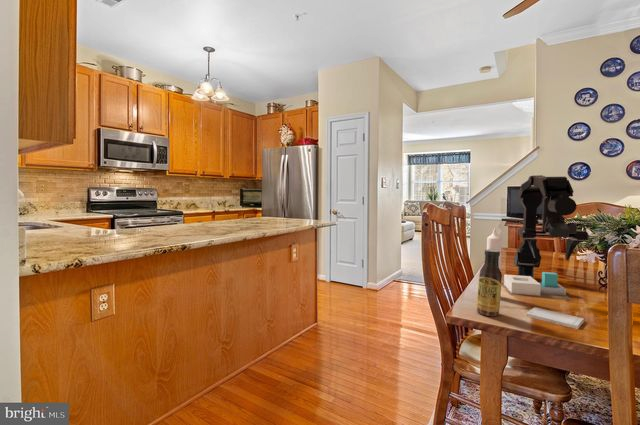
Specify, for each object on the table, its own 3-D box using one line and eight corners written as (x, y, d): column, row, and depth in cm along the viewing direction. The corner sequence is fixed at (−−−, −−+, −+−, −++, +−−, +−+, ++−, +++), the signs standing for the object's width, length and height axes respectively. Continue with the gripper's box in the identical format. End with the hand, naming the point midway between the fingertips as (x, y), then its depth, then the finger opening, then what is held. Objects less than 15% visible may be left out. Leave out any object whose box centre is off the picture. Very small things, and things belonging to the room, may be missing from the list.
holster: (533, 288, 122) (534, 281, 122) (558, 290, 120) (558, 283, 120) (539, 293, 116) (540, 286, 116) (565, 295, 114) (565, 288, 113)
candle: (500, 296, 116) (503, 227, 114) (506, 303, 109) (509, 229, 107) (479, 295, 118) (481, 227, 116) (483, 301, 111) (485, 229, 109)
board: (501, 285, 130) (501, 282, 130) (555, 289, 124) (555, 287, 124) (511, 297, 115) (511, 294, 115) (573, 303, 109) (573, 300, 109)
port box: (503, 284, 128) (504, 274, 128) (530, 286, 125) (530, 276, 125) (511, 293, 117) (511, 282, 116) (540, 295, 114) (540, 284, 113)
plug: (541, 290, 120) (542, 271, 120) (554, 291, 119) (554, 272, 118) (544, 292, 117) (544, 273, 117) (557, 293, 116) (558, 274, 116)
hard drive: (526, 312, 97) (578, 325, 88) (534, 306, 103) (584, 317, 93) (526, 318, 98) (577, 331, 88) (534, 311, 103) (584, 323, 94)
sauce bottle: (473, 313, 99) (475, 249, 98) (480, 308, 104) (482, 247, 103) (496, 319, 95) (498, 252, 94) (503, 314, 99) (505, 250, 98)
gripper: (528, 214, 105) (526, 261, 105) (598, 215, 99) (595, 266, 99) (519, 212, 115) (517, 255, 116) (582, 213, 109) (579, 259, 110)
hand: (551, 259), depth 110 cm, fingers open, 9 cm apart
